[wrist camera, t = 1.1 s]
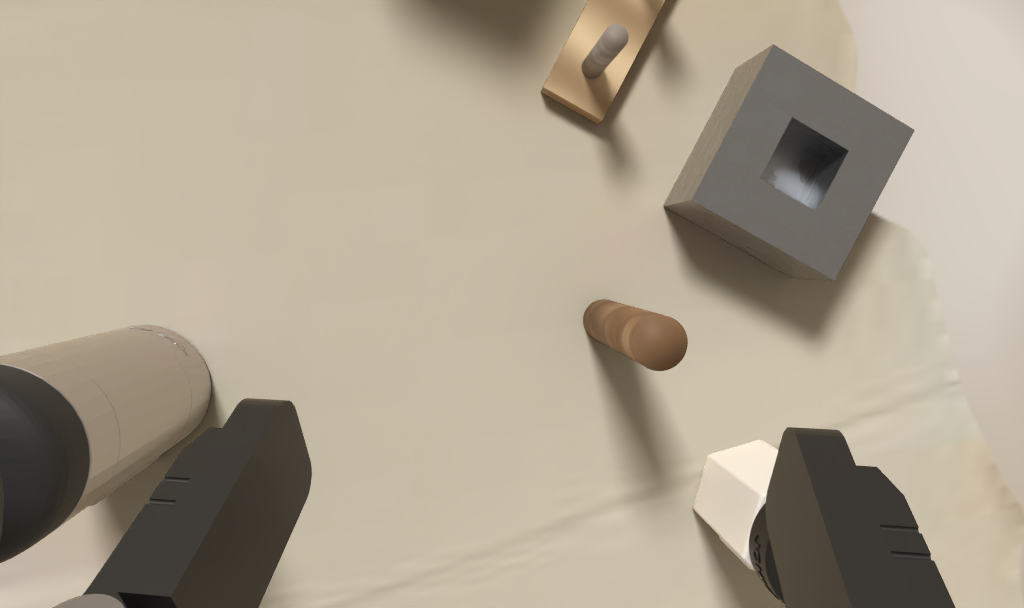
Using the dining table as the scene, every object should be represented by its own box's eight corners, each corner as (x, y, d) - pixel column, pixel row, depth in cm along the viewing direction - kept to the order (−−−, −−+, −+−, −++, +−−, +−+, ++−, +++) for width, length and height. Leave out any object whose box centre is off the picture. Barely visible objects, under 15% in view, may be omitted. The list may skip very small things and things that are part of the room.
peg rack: (597, 124, 51) (628, 98, 43) (540, 91, 51) (559, 59, 42) (683, -40, 51) (731, -98, 43) (627, -75, 51) (663, -141, 42)
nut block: (791, 277, 54) (834, 280, 48) (663, 206, 52) (691, 199, 46) (862, 143, 54) (914, 130, 48) (735, 68, 52) (773, 44, 46)
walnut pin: (611, 347, 53) (671, 380, 39) (575, 328, 52) (623, 355, 39) (630, 311, 53) (697, 331, 39) (595, 292, 52) (649, 305, 39)
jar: (671, 490, 54) (735, 556, 42) (742, 418, 54) (826, 464, 42) (744, 563, 55) (827, 648, 43) (813, 493, 55) (915, 558, 44)
